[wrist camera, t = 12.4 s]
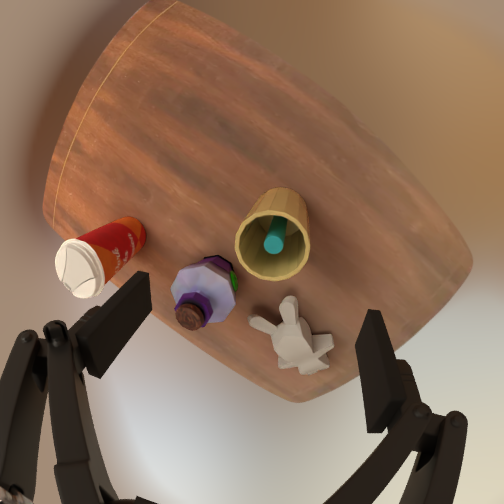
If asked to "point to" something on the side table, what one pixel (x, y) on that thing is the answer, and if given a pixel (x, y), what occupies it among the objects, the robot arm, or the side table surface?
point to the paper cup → (98, 256)
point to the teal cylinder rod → (276, 235)
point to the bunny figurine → (295, 339)
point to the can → (257, 227)
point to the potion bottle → (204, 292)
